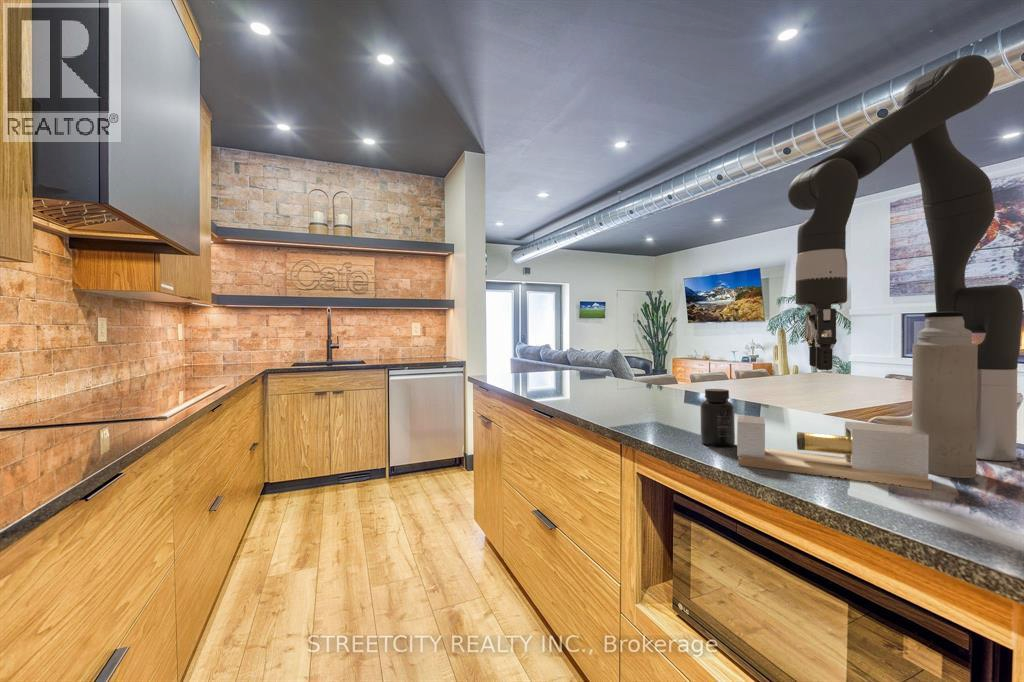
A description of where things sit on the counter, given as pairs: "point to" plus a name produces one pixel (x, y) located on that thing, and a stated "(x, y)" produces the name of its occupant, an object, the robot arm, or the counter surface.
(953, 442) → the thermos bottle
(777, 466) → the base board
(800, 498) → the counter surface
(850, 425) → the sleeve socket
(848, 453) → the tube
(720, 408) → the supplement bottle
